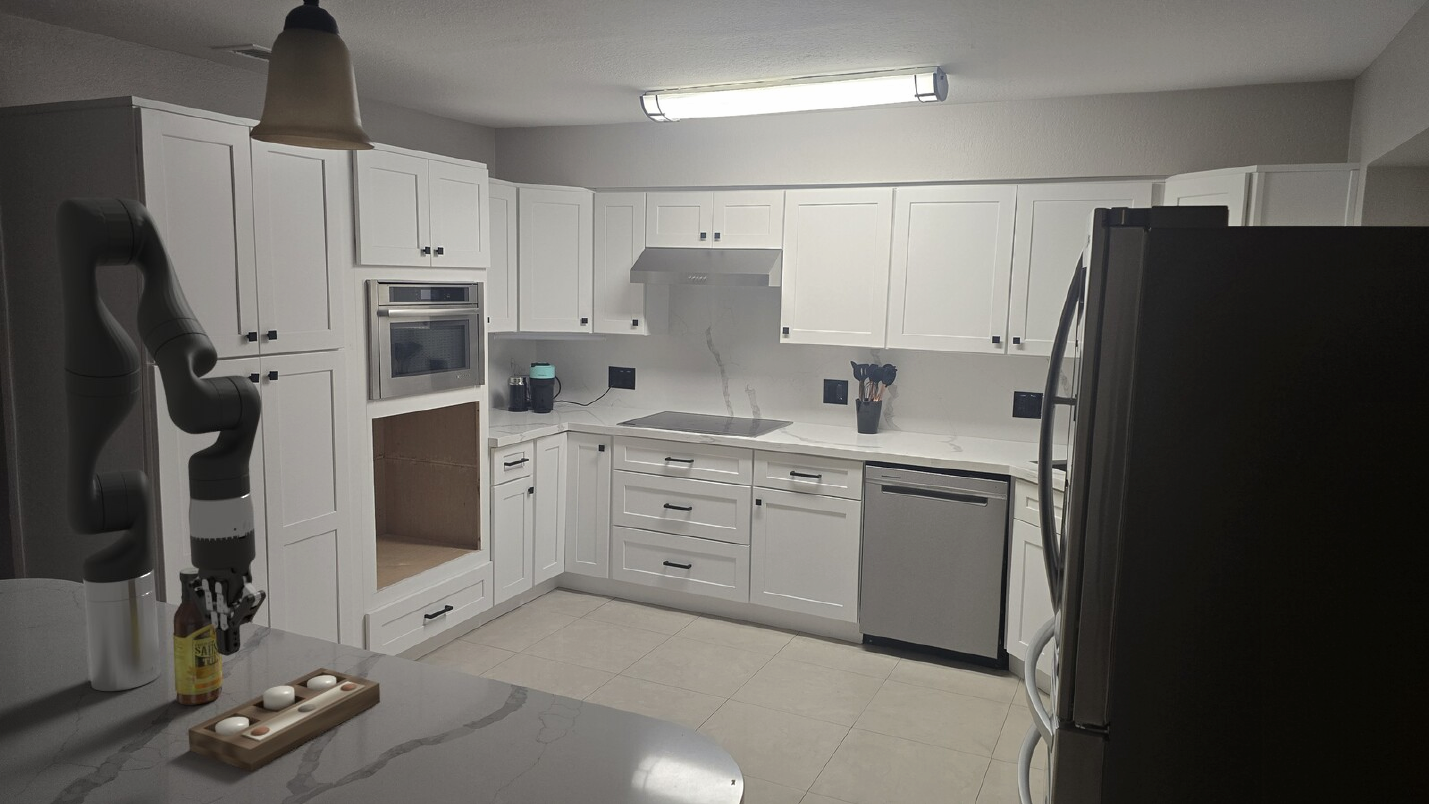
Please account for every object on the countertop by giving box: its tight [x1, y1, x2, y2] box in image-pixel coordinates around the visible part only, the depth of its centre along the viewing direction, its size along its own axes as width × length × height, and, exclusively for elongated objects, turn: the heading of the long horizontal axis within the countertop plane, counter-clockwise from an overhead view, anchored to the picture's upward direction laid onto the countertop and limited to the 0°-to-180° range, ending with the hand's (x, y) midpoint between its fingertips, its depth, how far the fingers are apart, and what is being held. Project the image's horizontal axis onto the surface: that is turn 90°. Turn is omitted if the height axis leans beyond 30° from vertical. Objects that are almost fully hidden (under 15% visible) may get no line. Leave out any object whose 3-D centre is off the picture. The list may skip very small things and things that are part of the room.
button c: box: [215, 717, 249, 736], centre depth 124 cm, size 4×4×2 cm
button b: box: [262, 685, 295, 712], centre depth 131 cm, size 4×4×2 cm
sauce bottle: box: [172, 566, 224, 706], centre depth 137 cm, size 7×6×20 cm
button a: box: [307, 675, 336, 691], centre depth 138 cm, size 4×4×2 cm
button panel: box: [187, 667, 381, 772], centre depth 130 cm, size 12×22×3 cm, turn 155°
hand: (229, 652), depth 123 cm, fingers closed
